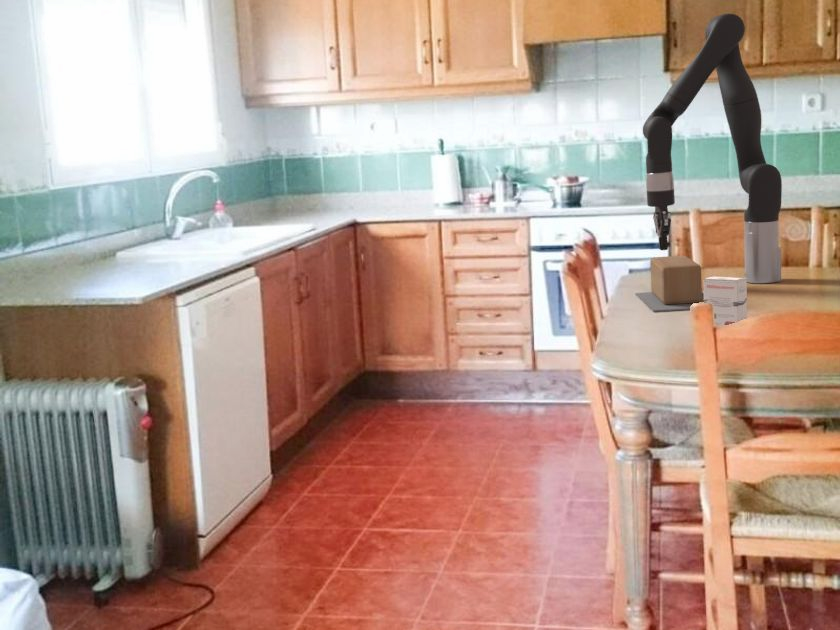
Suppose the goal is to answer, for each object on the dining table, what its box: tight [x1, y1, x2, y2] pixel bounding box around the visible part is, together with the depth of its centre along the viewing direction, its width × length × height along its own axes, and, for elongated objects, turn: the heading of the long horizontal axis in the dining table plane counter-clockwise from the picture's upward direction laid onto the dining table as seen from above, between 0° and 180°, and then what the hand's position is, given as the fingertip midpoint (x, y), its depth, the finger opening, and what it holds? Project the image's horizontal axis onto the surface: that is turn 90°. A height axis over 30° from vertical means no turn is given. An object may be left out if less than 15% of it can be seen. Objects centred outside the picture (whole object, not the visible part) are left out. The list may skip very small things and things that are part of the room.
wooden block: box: [649, 255, 703, 305], centre depth 280 cm, size 10×10×20 cm
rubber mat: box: [634, 291, 704, 313], centre depth 279 cm, size 17×27×1 cm, turn 178°
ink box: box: [703, 276, 748, 326], centre depth 239 cm, size 9×5×12 cm, turn 48°
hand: (663, 249), depth 299 cm, fingers closed
